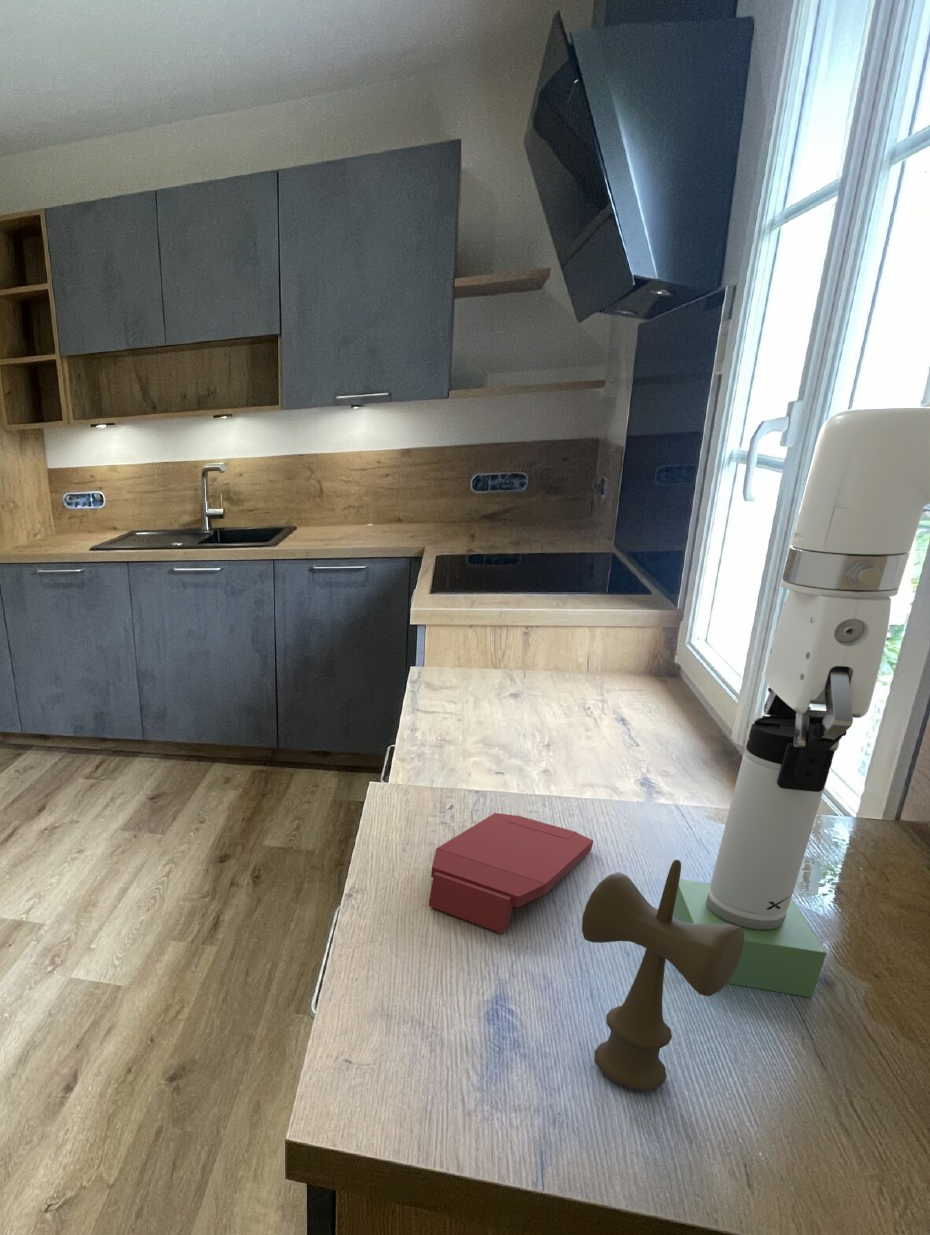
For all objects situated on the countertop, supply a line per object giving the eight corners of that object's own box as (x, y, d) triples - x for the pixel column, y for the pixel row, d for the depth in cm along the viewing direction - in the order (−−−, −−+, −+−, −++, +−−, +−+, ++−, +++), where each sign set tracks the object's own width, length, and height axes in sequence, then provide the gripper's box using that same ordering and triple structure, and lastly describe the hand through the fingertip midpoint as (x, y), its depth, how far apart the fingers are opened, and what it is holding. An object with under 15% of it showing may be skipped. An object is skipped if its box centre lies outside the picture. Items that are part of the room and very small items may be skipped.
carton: (492, 844, 107) (411, 899, 88) (498, 810, 105) (418, 859, 87) (588, 873, 99) (521, 940, 81) (596, 837, 98) (530, 897, 80)
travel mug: (791, 939, 72) (853, 737, 65) (705, 919, 75) (755, 724, 68) (785, 905, 77) (842, 714, 70) (705, 888, 80) (752, 703, 73)
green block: (777, 935, 81) (790, 894, 79) (812, 998, 72) (827, 953, 70) (666, 918, 84) (675, 878, 82) (686, 976, 75) (697, 932, 74)
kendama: (591, 1023, 70) (633, 823, 63) (709, 1092, 62) (771, 874, 55) (552, 1052, 67) (590, 846, 60) (670, 1128, 59) (731, 903, 52)
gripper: (954, 594, 55) (878, 821, 62) (855, 556, 70) (802, 742, 77) (825, 590, 58) (765, 809, 64) (756, 554, 73) (713, 735, 79)
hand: (785, 771), depth 71 cm, fingers closed on travel mug, 6 cm apart
